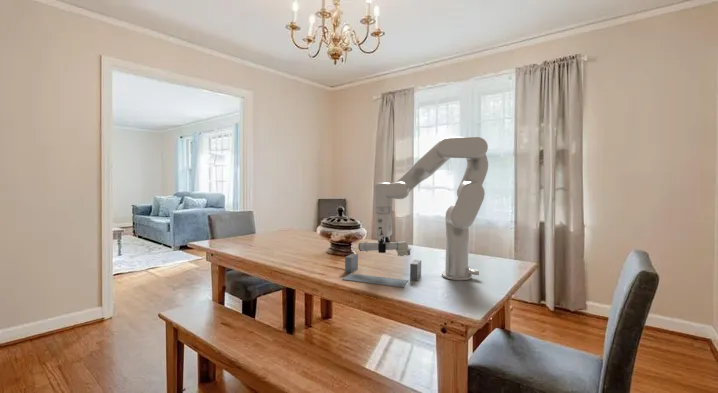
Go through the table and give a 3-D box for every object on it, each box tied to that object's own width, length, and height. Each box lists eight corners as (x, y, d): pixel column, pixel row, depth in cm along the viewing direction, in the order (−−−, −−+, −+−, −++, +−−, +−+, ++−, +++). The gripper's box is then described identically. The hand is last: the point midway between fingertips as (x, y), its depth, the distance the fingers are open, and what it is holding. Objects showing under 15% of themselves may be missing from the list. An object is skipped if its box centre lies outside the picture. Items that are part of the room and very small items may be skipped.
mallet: (363, 241, 160) (411, 238, 146) (365, 255, 160) (413, 253, 146) (356, 243, 156) (405, 240, 142) (358, 257, 155) (408, 256, 142)
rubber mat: (408, 281, 141) (408, 280, 141) (402, 287, 133) (402, 286, 133) (350, 274, 151) (350, 273, 151) (342, 279, 143) (342, 278, 143)
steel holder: (421, 275, 149) (421, 260, 149) (417, 281, 142) (417, 264, 141) (352, 268, 161) (352, 253, 161) (345, 272, 154) (345, 257, 154)
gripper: (385, 212, 140) (386, 256, 141) (396, 208, 156) (397, 247, 157) (368, 212, 143) (369, 254, 144) (381, 208, 159) (382, 246, 160)
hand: (384, 250), depth 151 cm, fingers closed on mallet, 5 cm apart
